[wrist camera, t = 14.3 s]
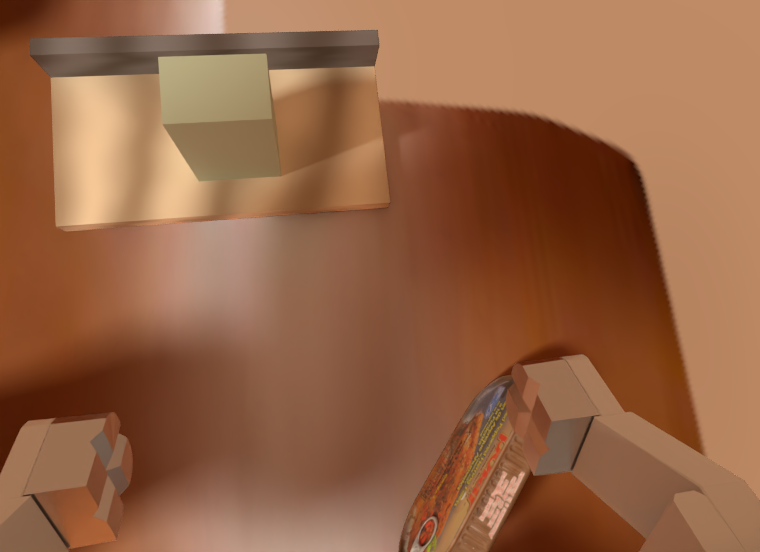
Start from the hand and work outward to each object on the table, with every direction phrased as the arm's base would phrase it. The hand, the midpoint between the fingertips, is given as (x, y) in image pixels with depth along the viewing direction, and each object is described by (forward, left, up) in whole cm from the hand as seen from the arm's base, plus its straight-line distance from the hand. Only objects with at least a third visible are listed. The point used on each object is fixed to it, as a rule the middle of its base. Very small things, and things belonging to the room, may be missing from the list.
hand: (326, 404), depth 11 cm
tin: (+10, -9, -30) cm, 32 cm away
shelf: (-5, +18, -29) cm, 35 cm away
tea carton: (-4, +17, -28) cm, 33 cm away
